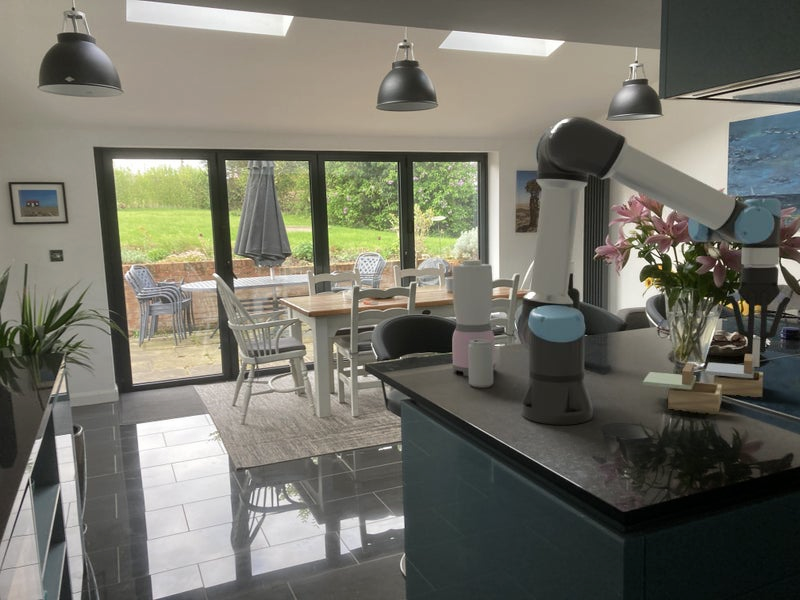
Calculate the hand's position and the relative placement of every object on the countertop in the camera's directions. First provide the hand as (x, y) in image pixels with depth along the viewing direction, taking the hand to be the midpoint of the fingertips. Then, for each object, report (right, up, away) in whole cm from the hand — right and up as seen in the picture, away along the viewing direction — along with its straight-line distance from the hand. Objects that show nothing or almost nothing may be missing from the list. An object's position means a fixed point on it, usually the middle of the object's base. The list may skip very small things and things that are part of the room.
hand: (755, 365), depth 149 cm
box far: (-3, -7, +3) cm, 8 cm away
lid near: (-22, -3, -5) cm, 23 cm away
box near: (-18, -8, -7) cm, 21 cm away
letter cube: (-3, -6, +3) cm, 7 cm away
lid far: (-4, -2, +3) cm, 6 cm away
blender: (-63, -5, +34) cm, 72 cm away
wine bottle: (-32, -3, +43) cm, 54 cm away
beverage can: (-63, -7, +17) cm, 65 cm away
